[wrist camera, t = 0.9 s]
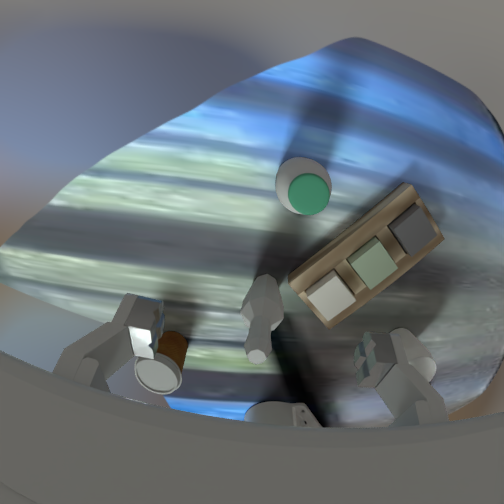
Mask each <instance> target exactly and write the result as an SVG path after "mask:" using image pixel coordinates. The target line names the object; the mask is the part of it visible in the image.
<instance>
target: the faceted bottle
mask: <svg viewBox="0 0 504 504" xmlns="http://www.w3.org/2000/svg"><path fill="white" fill-rule="evenodd" d="M240 313H241V315H242V318H243V320H244V323H245V325H246V326H247V327H249V334H248V336H247V339H246V342H245V344H244V348H245V351H246V354H247V357H248V359H249V361H250V362H252V363H254V364H260V363H263V362H264V361H265V359H266V358H267V357H268V355H269V353H270V352H271V350H272V347H271V337H270V336H271V331H272V330H275V328H276V327H277V326H278V325H279V324H280V322H281V321H282V320H283V319H284V306H283V302H282V298H281V294H280V291H279V287H278V284H277V281H276V279H275V278H273V277H272V276H270V275H269V274H265V275H262V276H258V277H257V278H256V280H255V281H254V283H253V284H252V286H251V288H250V289H249V291H248V293H247V295H246V297H245V298H244V300H243V304H242V308H241V312H240Z"/></svg>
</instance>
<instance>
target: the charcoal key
mask: <svg viewBox="0 0 504 504" xmlns="http://www.w3.org/2000/svg"><path fill="white" fill-rule="evenodd" d="M387 226H388V228H389V229H390V230H391V232H392V233H393V235H394V236H395V238H396V239H397V241H398V242H399V244H400V245H401V247H402V248H403V250H404V251H405V252H407V253H408V254H409V255H410V256H411V257H412V256H414V255H415V254H416V253H417V252H418V251H420V250H421V249H422V248H423V247H424V246H425V245H427V244H428V243H429V242H430V241H431V240H432V239H434V238H435V237H436V236H437V233H436V232H435V230H434V228H433V226H432V225H431V223H430V221H429V220H428V218H427V216H426V215H425V213H424V212H423V210H422V208H421V207H420V206H417V205H415V204H412V205H411V206H410V207H408V208H407V209H406V210H405V211H404V212H402V213H401V214H400V215H399V216H398V217H397V218H395V219H394V220H393V221H392V222H391V223H389V224H388V225H387Z"/></svg>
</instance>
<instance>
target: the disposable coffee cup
mask: <svg viewBox="0 0 504 504" xmlns="http://www.w3.org/2000/svg"><path fill="white" fill-rule="evenodd" d="M187 348H188V344H187V341H186V339H185V338H184V337H183V336H182V335H181V334H179V333H177V332H174V331H167V332H165V333H163V334H162V337H161V338H160V339H159V340H158V349H157V352H156V355H155V358H154V359H149V358H144V357H140V356H139V357H138V358H137V360H136V361H135V376H136V378H137V380H138V381H139V383H140V384H141V385H142V386H143V387H145V388H146V389H147V390H149V391H151V392H153V393H157V394H169V393H172V392H173V391H174V390H176V389H178V388H179V386H180V385H181V382H182V375H181V374H182V369H183V365H184V361H185V357H186V352H187Z"/></svg>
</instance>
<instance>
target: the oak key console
mask: <svg viewBox="0 0 504 504" xmlns="http://www.w3.org/2000/svg"><path fill="white" fill-rule="evenodd" d="M412 204H415V205H417V206H420V207H421V208H422V210H423V212H424V213H425V215H426V216H427V218H428V220H429V221H430V223H431V225H432V226H433V228H434V230H435V232H436V233H437V236H436V237H435V238H434V239H432V240H431V241H430V242H429V243H428V244H427V245H425V246H424V247H423V248H422V249H421V250H420V251H418V252H417V253H416V254H415V255H414V256H412V257H411V256H410V255H409V254H408V253H407V252H405V251H404V250H403V248H402V247H401V245H400V244H399V242H398V241H397V239H396V238H395V236H394V235H393V233H392V232H391V230H390V229H389V228H388V226H387V225H388V224H389V223H391V222H392V221H393V220H394V219H395V218H397V217H398V216H399V215H400V214H401V213H402V212H404V211H405V210H406V209H407V208H408V207H410V206H411V205H412ZM374 236H375V237H376V238H377V239H378V240H379V241H380V243H381V244H382V245H383V247H384V248H385V250H386V251H387V253H388V254H389V255H390V257H391V258H392V260H393V261H394V263H395V264H396V266H397V267H398V269H397V270H395V271H394V272H393V273H392V274H390V275H389V276H388V277H387V278H385V279H384V280H383V281H382V282H380V283H379V284H378V285H376V286H375V287H374V288H373V289H371V290H370V289H369V288H368V286H367V285H366V284H365V282H364V281H363V280H362V278H361V277H360V276H359V274H358V273H357V272H356V271H355V269H354V268H353V267H352V265H351V264H350V262H349V261H348V259H347V257H349V256H350V255H351V254H352V253H354V252H355V251H356V250H357V249H359V248H360V247H361V246H362V245H364V244H365V243H366V242H367V241H369V240H370V239H371V238H372V237H374ZM443 240H444V237H443V235H442V233H441V232H440V230H439V228H438V226H437V225H436V223H435V221H434V219H433V218H432V216H431V214H430V213H429V211H428V210H427V208H426V206H425V205H424V203H423V201H422V200H421V198H420V197H419V195H418V194H417V192H416V191H415V189H414V187H413V186H412V185H411V184H408V183H404V182H403V183H402V184H401V185H399V186H398V187H397V188H396V189H395V190H393V191H392V192H391V193H390V194H389V195H387V196H386V197H385V198H384V199H383V200H381V201H380V202H379V203H378V204H377V205H375V206H374V207H373V208H372V209H371V210H369V211H368V212H367V213H366V214H364V215H363V216H362V217H361V218H360V219H358V220H357V221H356V222H355V223H353V224H352V225H351V226H350V227H349V228H347V229H346V230H345V231H344V232H342V233H341V234H340V235H339V236H337V237H336V238H335V239H334V240H332V241H331V242H330V243H329V244H327V245H326V246H325V247H324V248H322V249H321V250H320V251H319V252H317V253H316V254H315V255H313V256H312V257H311V258H310V259H308V260H307V261H306V262H305V263H303V264H302V265H301V266H299V267H298V268H297V269H296V270H294V271H293V272H292V273H290V274H289V275H288V284H289V285H290V287H291V288H292V289H293V290H294V291H295V292H296V293H297V294H298V295H299V297H300V298H301V299H302V300H303V301H304V302H305V303H306V304H307V306H308V307H309V308H310V309H311V310H312V311H313V312H314V313H315V314H316V316H317V317H318V318H319V319H320V320H321V321H322V322H323V323H324V325H325V326H326V327H327V328H328V329H331V328H332V327H334V326H335V325H337V324H338V323H339V322H341V321H342V320H344V319H345V318H346V317H348V316H349V315H351V314H352V313H353V312H355V311H356V310H357V309H359V308H360V307H361V306H363V305H364V304H366V303H367V302H368V301H370V300H371V299H372V298H373V297H375V296H376V295H377V294H379V293H380V292H381V291H383V290H384V289H385V288H386V287H388V286H389V285H390V284H392V283H393V282H394V281H395V280H397V279H398V278H399V277H400V276H402V275H403V274H404V273H405V272H406V271H408V270H409V269H410V268H411V267H413V266H414V265H415V264H416V263H417V262H419V261H420V260H421V259H422V258H423V257H425V256H426V255H427V254H428V253H429V252H430V251H432V250H433V249H434V248H435V247H436V246H437V245H438V244H440V243H441V242H442V241H443ZM333 268H334V270H335V271H336V272H337V273H338V275H339V276H340V277H341V278H342V279H343V281H344V282H345V283H346V284H347V286H348V287H349V288H350V289H351V291H352V293H353V295H354V297H355V299H356V301H355V302H354V303H353V304H351V305H350V306H349V307H347V308H346V309H344V310H343V311H342V312H340V313H339V314H338V315H336V316H335V317H333V318H332V319H331V320H329V321H327V320H326V318H325V317H324V316H323V315H322V314H321V313H320V312H319V310H318V309H317V308H316V307H315V306H314V305H313V304H312V303H311V301H310V300H309V299H308V298H307V294H306V289H307V288H308V287H310V286H311V285H312V284H314V283H315V282H316V281H318V280H319V279H320V278H322V277H323V276H324V275H325V274H327V273H328V272H329V271H331V270H332V269H333Z"/></svg>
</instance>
